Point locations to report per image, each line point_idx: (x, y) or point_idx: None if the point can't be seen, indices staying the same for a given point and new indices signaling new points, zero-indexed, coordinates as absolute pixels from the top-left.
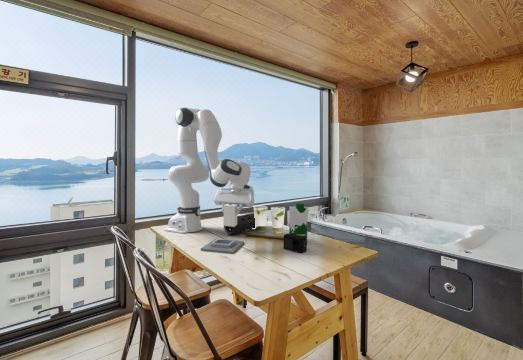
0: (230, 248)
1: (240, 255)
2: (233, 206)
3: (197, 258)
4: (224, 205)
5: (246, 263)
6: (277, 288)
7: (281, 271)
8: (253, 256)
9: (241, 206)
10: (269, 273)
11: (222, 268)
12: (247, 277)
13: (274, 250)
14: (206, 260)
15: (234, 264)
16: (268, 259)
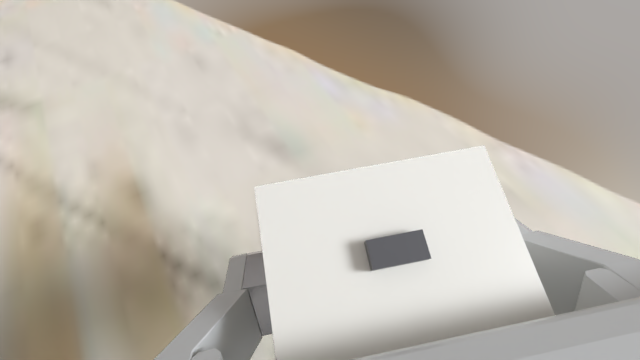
0: None
1: (225, 194)
2: (279, 186)
3: (379, 91)
4: (465, 152)
5: (163, 125)
6: (9, 10)
7: (3, 113)
8: (159, 209)
9: (165, 354)
10: (49, 83)
11: (232, 56)
12: (119, 33)
13: (65, 352)
14: (332, 89)
15: (206, 99)
16: (76, 204)
